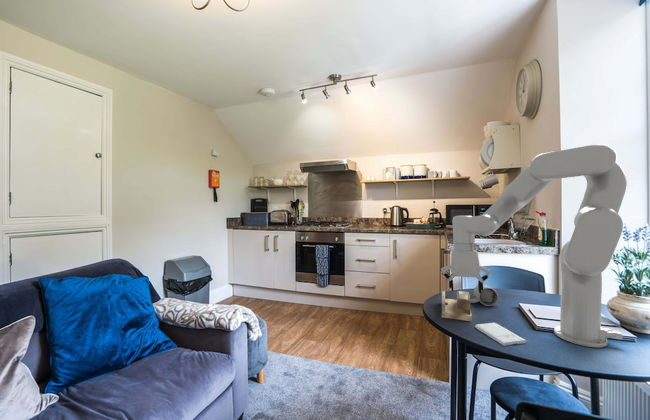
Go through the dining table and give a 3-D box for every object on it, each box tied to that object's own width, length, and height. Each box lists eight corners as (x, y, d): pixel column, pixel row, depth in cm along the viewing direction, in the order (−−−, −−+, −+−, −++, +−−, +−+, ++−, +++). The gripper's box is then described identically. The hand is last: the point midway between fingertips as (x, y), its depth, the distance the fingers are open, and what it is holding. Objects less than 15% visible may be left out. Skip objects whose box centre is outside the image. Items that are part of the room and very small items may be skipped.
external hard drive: (495, 326, 99) (526, 344, 87) (474, 329, 98) (503, 347, 85) (495, 322, 99) (526, 339, 87) (475, 324, 98) (503, 342, 85)
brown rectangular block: (468, 304, 114) (469, 291, 113) (470, 314, 104) (470, 300, 103) (457, 302, 115) (457, 290, 115) (457, 312, 105) (457, 298, 105)
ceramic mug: (489, 299, 124) (489, 282, 124) (498, 306, 116) (498, 288, 116) (464, 299, 126) (464, 282, 125) (471, 305, 117) (471, 287, 117)
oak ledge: (468, 305, 117) (468, 294, 117) (471, 321, 102) (471, 308, 102) (441, 302, 121) (442, 291, 121) (441, 317, 106) (441, 304, 106)
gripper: (488, 246, 109) (490, 290, 109) (440, 245, 115) (441, 286, 116) (491, 249, 102) (493, 296, 102) (439, 248, 108) (441, 292, 109)
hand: (465, 291), depth 109 cm, fingers open, 9 cm apart
